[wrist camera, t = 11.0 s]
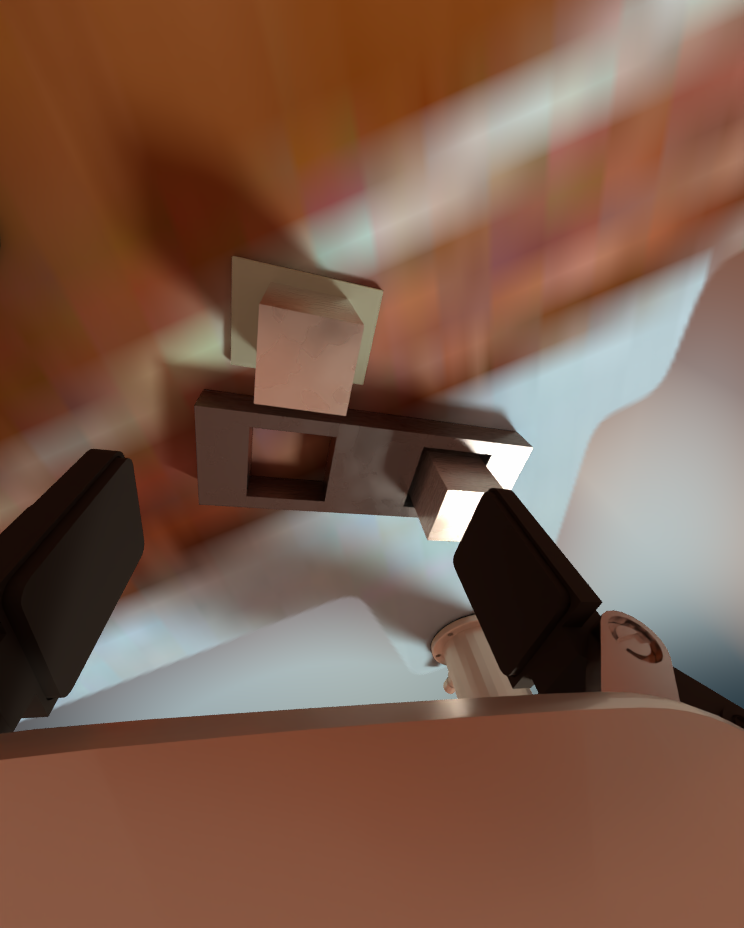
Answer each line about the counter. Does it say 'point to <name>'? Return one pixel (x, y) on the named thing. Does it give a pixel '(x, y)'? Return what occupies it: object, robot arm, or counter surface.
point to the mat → (257, 277)
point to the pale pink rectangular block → (306, 350)
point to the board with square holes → (335, 456)
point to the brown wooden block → (448, 491)
